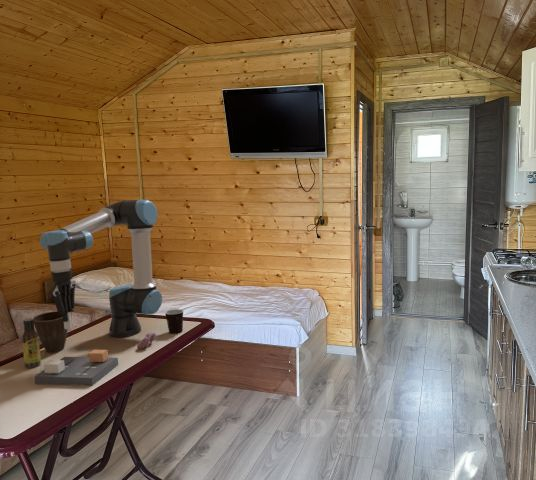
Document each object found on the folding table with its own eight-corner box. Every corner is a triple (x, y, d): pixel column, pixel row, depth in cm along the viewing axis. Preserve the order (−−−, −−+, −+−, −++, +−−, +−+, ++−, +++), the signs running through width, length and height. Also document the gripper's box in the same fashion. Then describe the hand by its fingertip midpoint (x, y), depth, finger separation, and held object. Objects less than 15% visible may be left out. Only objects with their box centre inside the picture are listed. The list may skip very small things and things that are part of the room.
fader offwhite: (51, 368, 198) (50, 360, 198) (65, 368, 197) (64, 360, 197) (44, 372, 195) (43, 364, 194) (58, 373, 193) (57, 364, 193)
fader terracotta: (94, 357, 207) (94, 349, 207) (108, 358, 206) (107, 349, 206) (89, 361, 203) (88, 353, 203) (103, 361, 202) (102, 353, 202)
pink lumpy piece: (144, 353, 224) (150, 339, 222) (135, 348, 224) (140, 335, 223) (153, 345, 234) (159, 332, 232) (145, 341, 234) (150, 328, 233)
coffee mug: (169, 329, 251) (167, 309, 249) (186, 328, 251) (184, 308, 249) (163, 337, 239) (161, 316, 238) (181, 336, 239) (179, 315, 238)
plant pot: (64, 355, 223) (60, 320, 220) (30, 356, 223) (26, 321, 221) (77, 343, 238) (73, 310, 235) (46, 345, 238) (42, 312, 236)
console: (65, 363, 213) (64, 356, 212) (118, 364, 208) (117, 357, 208) (35, 383, 193) (34, 376, 193) (92, 385, 189) (91, 377, 188)
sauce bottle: (31, 369, 208) (25, 322, 205) (21, 367, 211) (15, 321, 208) (45, 363, 214) (39, 318, 211) (35, 361, 217) (29, 316, 214)
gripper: (62, 266, 205) (69, 323, 208) (42, 274, 192) (50, 334, 196) (79, 266, 203) (86, 323, 207) (59, 274, 190) (67, 334, 194)
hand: (68, 328), depth 201 cm, fingers closed
